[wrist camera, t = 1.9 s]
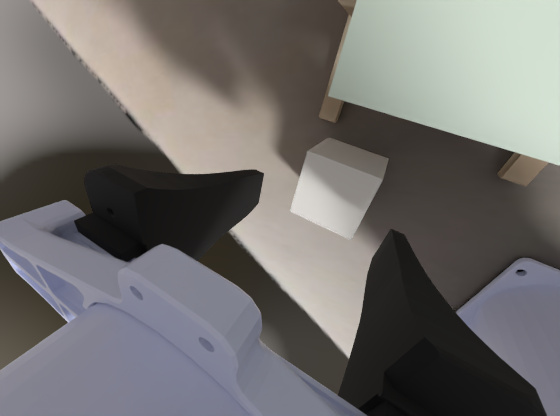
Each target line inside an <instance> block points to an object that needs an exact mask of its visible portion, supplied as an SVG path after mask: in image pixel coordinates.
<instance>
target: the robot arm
mask: <svg viewBox="0 0 560 416" xmlns="http://www.w3.org/2000/svg"><path fill="white" fill-rule="evenodd" d="M263 176H264V173H262V172H259V171H257V170H241V171H233V172H224V173H213V174H174V173H162V172H153V171H148V170H141V169H136V168H131V167H126V166H122V165H117V164H111V165H107V166H104V167H100V168H96V169H92V170H89V171H88V172H87V173H86V175H85V178H84V183H85V188H86V192H87V195H88V198H89V201H90V204H91V208H92V211H93V212H94V213H91V214H89V215H86V216H85V214H84V213H83V211H81V210H80V209H79V208H77V207H76V206H74V205H73V204H71V203H70V202H68V201H66V200H63V201H60V202H57V203H54V204H51V205H48V206H45V207H42V208H39V209H36V210H33V211H30V212H27V213H24V214H21V215H18V216H15V217H12V218H9V219H7V220H3V221H0V250H1V251H2V253H3V254H4V256H5V257H6V258H7V260H8V261H9V263H10V264H11V266H12V267H13V269H14V270H15V271H16V272H17V273H18V274H19V275H20V276H21V277H22V278H23V279H24V280H25V281H26V282H28V283H29V284H30V285H31V286H32V287H33V288H34V289H35V290H36V291H37V292H38V293H39V294H40V295H41V296H42V297H43V298H44V299H45V300H46V301H48V303H49V304H50V305H51V306H52V307H53V308H54V309H55V310H56V311H57V312H58V313H59V314H60V315H61V316H62V317H63V318H64V319H65V320H66V321H67V322H68V323H67V324H66V325H64V326H63V327H62V328H60V329H59V330H57V331H56V332H54V333H53V334H52V335H50V336H49V337H47V338H46V339H44V340H43V341H42V342H40V343H39V344H37V345H36V346H34V347H33V348H31V349H30V350H29V351H27V352H26V353H24V354H23V355H21V356H20V357H19V358H17V359H16V360H14V361H13V362H11V363H10V364H9V365H7V366H6V367H4V368H3V369H1V370H0V416H560V270H558V269H556V268H553V267H551V266H548V265H546V264H543V263H541V262H538V261H536V260H533V259H530V258H520V259H518V260H516V261H515V262H514V263H513V264H512V265H510V266H509V267H508V268H507V269H506V270H505V271H503V272H502V273H501V274H500V275H499V276H498V277H496V278H495V279H494V280H493V281H492V282H490V283H489V284H488V285H487V286H486V287H485V288H483V289H482V290H481V291H480V292H479V293H478V294H476V295H475V296H474V297H473V298H472V299H471V300H469V301H468V302H467V303H466V304H465V305H463V306H462V307H461V308H460V309H459V310H458V311H456V312H455V311H454V310H453V309H452V308H451V307H450V305H449V304H448V303H447V302H446V301H445V299H444V298H443V297H442V295H441V294H440V293H439V292H438V290H437V289H436V288H435V286H434V285H433V283H432V282H431V280H430V279H429V277H428V276H427V274H426V273H425V271H424V269H423V268H422V266H421V264H420V263H419V261H418V259H417V257H416V256H415V254H414V252H413V250H412V248H411V246H410V244H409V243H408V241H407V239H406V237H405V235H404V234H402V233H399V232H397V231H395V230H392V229H391V230H390V231H389V233H388V235H387V236H386V238H385V239H384V241H383V242H382V244H381V245H380V247H379V249H378V250H377V252H376V253H375V255H374V256H373V258H372V261H371V264H370V267H369V271H368V274H367V280H366V287H365V293H364V300H363V307H362V313H361V318H360V323H359V327H358V330H357V334H356V338H355V341H354V345H353V348H352V351H351V355H350V358H349V362H348V365H347V368H346V371H345V375H344V378H343V381H342V384H341V387H340V390H339V394H338V395H336V394H335V393H333V392H332V391H330V390H329V389H327V388H326V387H325V386H323V385H321V384H320V383H319V382H317V381H316V380H314V379H313V378H311V377H310V376H308V375H307V374H305V373H304V372H302V371H301V370H299V369H298V368H296V367H295V366H294V365H292V364H290V363H289V362H287V361H286V360H285V359H283V358H282V357H280V356H279V355H277V354H276V353H274V352H273V351H271V350H270V349H269V348H268V347H267V346H266V345H265V344H264V343H263V342H262V341H261V340H260V339H259V336H260V333H261V330H262V319H261V313H260V311H259V309H258V307H257V306H256V304H255V303H254V301H253V300H252V298H251V297H250V296H249V295H248V294H246V293H245V292H244V291H243V290H242V289H240V288H239V287H238V286H236V285H235V284H233V283H232V282H230V281H228V280H227V279H225V278H223V277H222V276H220V275H218V274H217V273H215V272H214V271H212V270H210V269H209V268H207V267H205V266H204V265H202V264H201V263H199V262H198V260H199V259H200V258H201V257H202V256H203V255H204V254H205V252H206V251H207V250H208V249H209V248H210V247H211V246H212V245H213V244H214V243H215V242H216V241H217V240H218V239H219V238H220V237H221V236H223V235H224V234H225V233H226V232H228V231H229V230H230V229H231V228H232V227H234V226H235V225H236V224H237V223H239V222H240V221H241V220H242V219H243V218H245V217H246V216H247V215H248V214H249V213H250V212H251V211H252V210H253V209H254V208H255V207H256V205H257V204H258V203H259V198H260V192H261V187H262V182H263ZM521 269H522V270H524V271H522V272H516V271H517V270H521Z"/></svg>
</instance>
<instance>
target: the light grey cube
mask: <svg viewBox="0 0 560 416" xmlns="http://www.w3.org/2000/svg"><path fill="white" fill-rule="evenodd" d="M388 160H389V158H386V157H383V156H380V155H377V154H374V153H372V152H369V151H366V150H363V149H360V148H357V147H355V146H352V145H349V144H346V143H343V142H341V141H338V140H335V139H332V138H329V137H328V138H327V139H325V140H323V141H322V142H320V143H319V144H317V145H316V146H314V147H313V148H311V149H309V150H308V151H307V154H306V158H305V161H304V164H303V168H302V171H301V175H300V178H299V182H298V185H297V188H296V192H295V195H294V199H293V202H292V206H291V209H290V212H292V213H295V214H297V215H299V216H301V217H303V218H305V219H307V220H309V221H311V222H314V223H316V224H318V225H320V226H322V227H324V228H326V229H328V230H330V231H332V232H335V233H337V234H339V235H341V236H343V237H345V238H347V239H349V240H351V239H352V237H353V235H354V234H355V232H356V230H357V228H358V226H359V224H360V222H361V220H362V218H363V217H364V215H365V213H366V211H367V209H368V207H369V205H370V203H371V201H372V199H373V198H374V196H375V194H376V192H377V190H378V188H379V186H380V184H381V182H382V181H383V178H384V174H385V171H386V167H387V164H388Z"/></svg>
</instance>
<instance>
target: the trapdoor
mask: <svg viewBox="0 0 560 416" xmlns="http://www.w3.org/2000/svg"><path fill="white" fill-rule="evenodd" d="M328 96H329V97H333V98H336V99H339V100H343V101H346V102H349V103H353V104H356V105H359V106H363V107H366V108H369V109H373V110H376V111H379V112H383V113H386V114H389V115H393V116H396V117H399V118H403V119H406V120H409V121H413V122H416V123H419V124H423V125H426V126H429V127H433V128H436V129H439V130H443V131H446V132H449V133H453V134H456V135H459V136H463V137H466V138H469V139H473V140H476V141H479V142H483V143H486V144H489V145H493V146H496V147H499V148H503V149H506V150H509V151H513V152H516V153H519V154H523V155H526V156H529V157H533V158H536V159H539V160H543V161H546V162H549V163H553V164H556V165H559V166H560V0H357V1H356V4H355V8H354V11H353V14H352V18H351V21H350V24H349V28H348V31H347V34H346V38H345V41H344V44H343V48H342V51H341V54H340V57H339V61H338V64H337V67H336V71H335V74H334V77H333V81H332V84H331V87H330V91H329V94H328Z"/></svg>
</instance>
